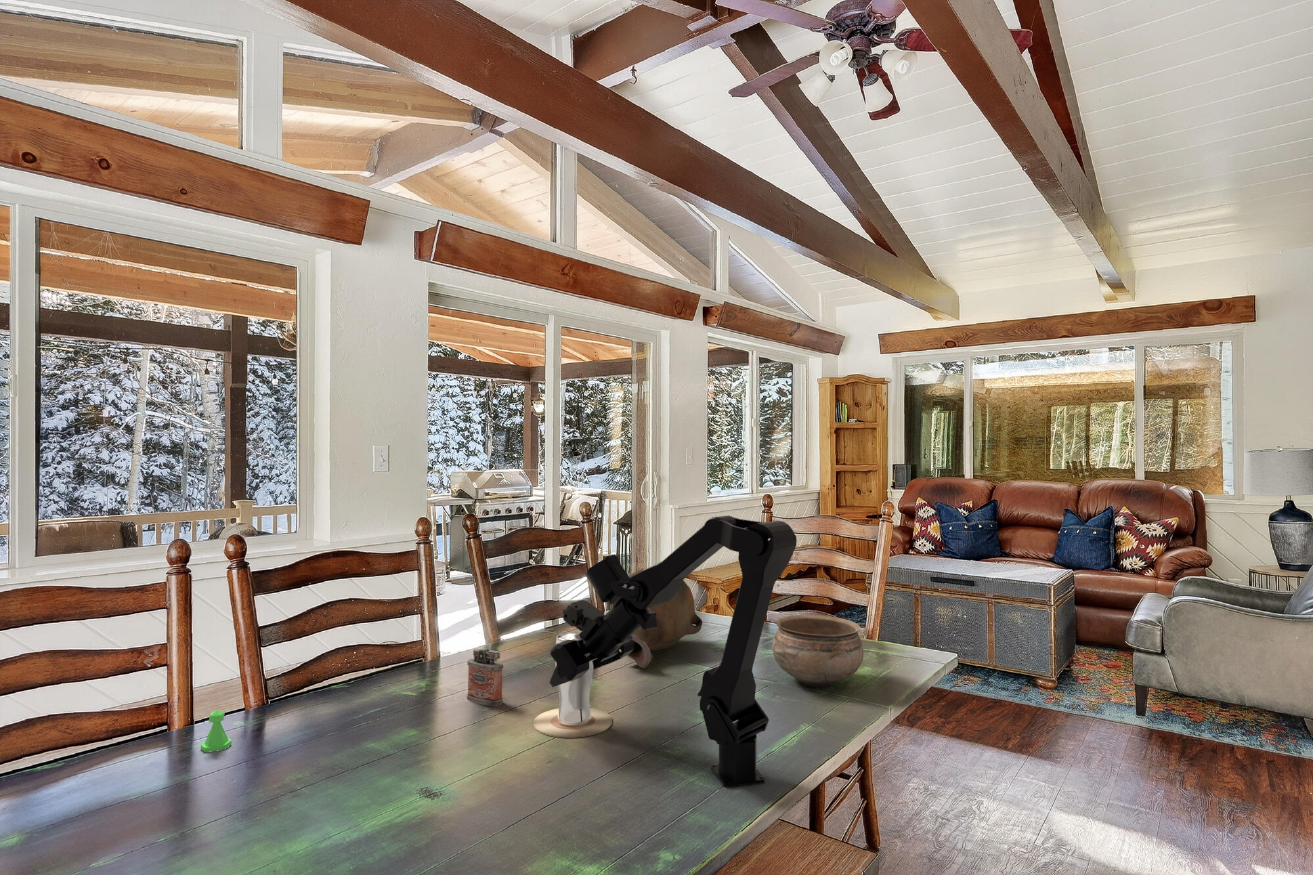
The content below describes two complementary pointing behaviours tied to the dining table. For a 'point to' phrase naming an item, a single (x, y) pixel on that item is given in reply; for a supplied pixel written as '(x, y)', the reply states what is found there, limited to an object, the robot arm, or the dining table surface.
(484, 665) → the lighter
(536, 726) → the coaster
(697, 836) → the dining table surface
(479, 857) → the dining table surface
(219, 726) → the game piece
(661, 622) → the jug
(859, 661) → the cooking pot
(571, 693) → the silver tall cup
